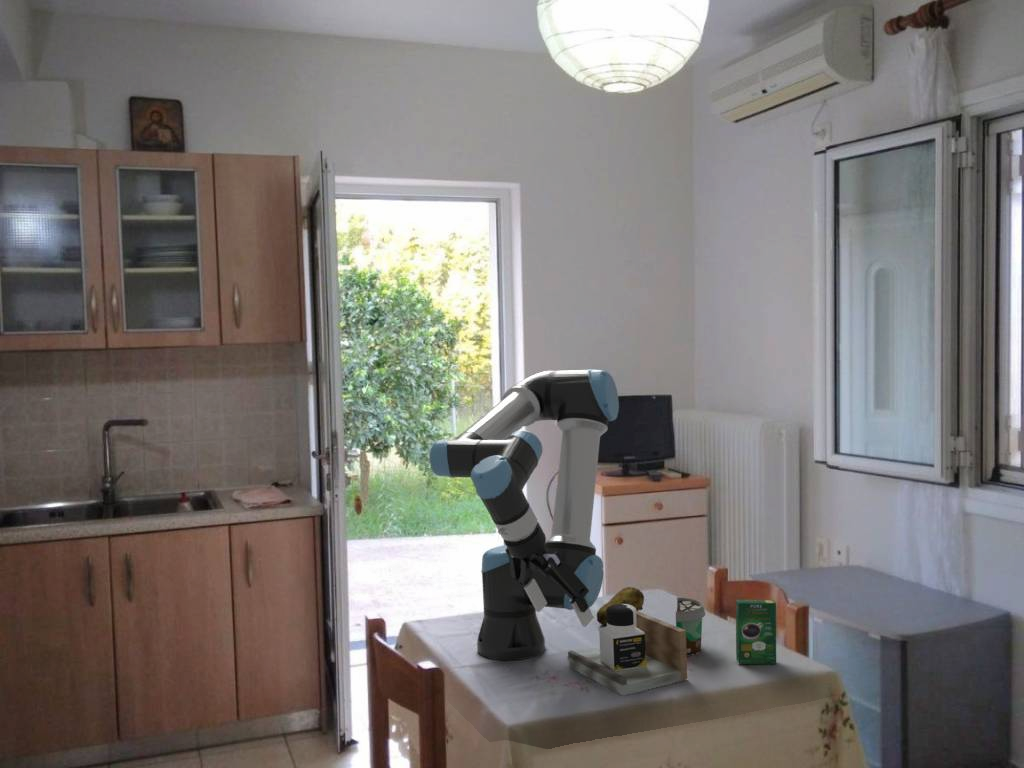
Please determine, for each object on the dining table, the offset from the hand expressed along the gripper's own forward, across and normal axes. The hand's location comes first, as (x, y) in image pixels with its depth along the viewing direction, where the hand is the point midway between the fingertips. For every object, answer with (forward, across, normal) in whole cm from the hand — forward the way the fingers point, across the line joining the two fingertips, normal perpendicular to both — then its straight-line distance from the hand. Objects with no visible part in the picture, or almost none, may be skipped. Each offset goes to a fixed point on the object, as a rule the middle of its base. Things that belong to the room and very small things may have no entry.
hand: (564, 614), depth 186 cm
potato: (+31, -22, +25) cm, 46 cm away
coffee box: (+31, +18, +25) cm, 43 cm away
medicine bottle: (+17, +4, +5) cm, 18 cm away
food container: (+29, +4, +22) cm, 37 cm away
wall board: (+18, +3, +4) cm, 19 cm away
